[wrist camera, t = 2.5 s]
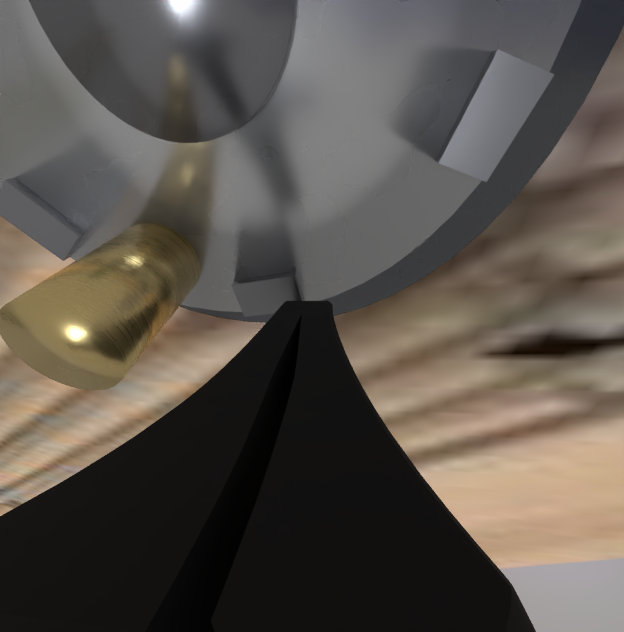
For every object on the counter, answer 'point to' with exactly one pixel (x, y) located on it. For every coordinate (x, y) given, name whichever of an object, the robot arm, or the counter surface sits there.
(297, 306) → the robot arm
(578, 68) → the dark grey flat disc
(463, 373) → the counter surface
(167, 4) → the lugged hub disc
